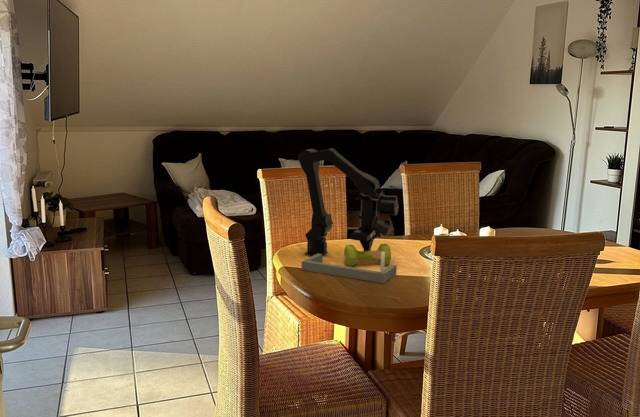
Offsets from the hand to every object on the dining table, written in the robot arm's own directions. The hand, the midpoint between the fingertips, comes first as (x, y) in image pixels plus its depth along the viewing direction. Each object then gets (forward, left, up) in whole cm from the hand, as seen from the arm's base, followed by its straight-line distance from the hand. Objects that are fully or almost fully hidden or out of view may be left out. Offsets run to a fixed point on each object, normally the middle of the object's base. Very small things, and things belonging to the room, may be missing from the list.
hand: (367, 254), depth 217 cm
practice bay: (0, -17, -2) cm, 17 cm away
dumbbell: (+2, -6, -2) cm, 6 cm away
